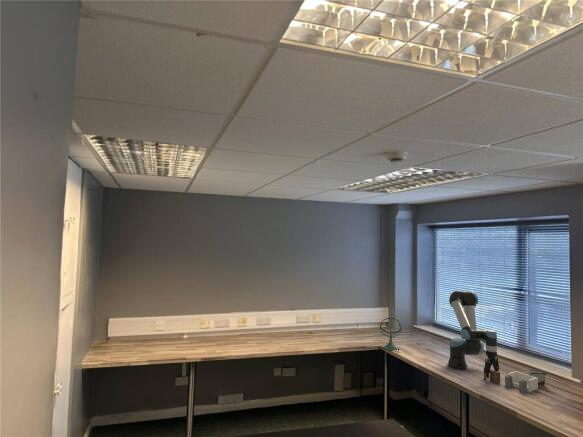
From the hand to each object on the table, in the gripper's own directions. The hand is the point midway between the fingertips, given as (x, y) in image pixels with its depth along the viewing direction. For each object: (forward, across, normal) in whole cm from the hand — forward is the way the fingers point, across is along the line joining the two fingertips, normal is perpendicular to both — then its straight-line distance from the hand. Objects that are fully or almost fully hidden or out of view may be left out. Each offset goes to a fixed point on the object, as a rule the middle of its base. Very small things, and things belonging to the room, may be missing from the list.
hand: (492, 380), depth 285 cm
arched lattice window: (0, +24, -20) cm, 31 cm away
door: (0, 0, 0) cm, 0 cm away
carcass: (0, +6, -18) cm, 19 cm away
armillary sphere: (0, -7, +99) cm, 99 cm away
